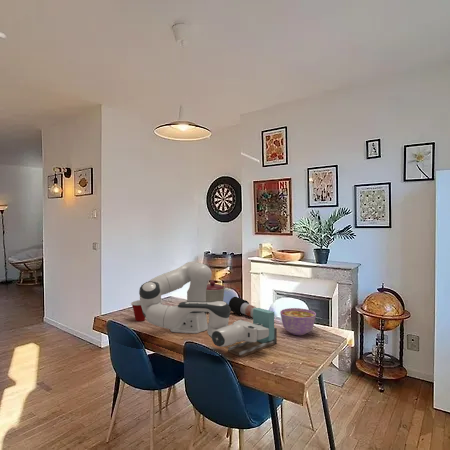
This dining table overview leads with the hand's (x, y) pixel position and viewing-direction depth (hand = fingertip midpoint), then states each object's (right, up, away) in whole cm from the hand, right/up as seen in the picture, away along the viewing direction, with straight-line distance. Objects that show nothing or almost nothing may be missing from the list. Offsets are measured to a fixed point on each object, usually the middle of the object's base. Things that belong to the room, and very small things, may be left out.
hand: (261, 325), depth 172 cm
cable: (-1, -10, +49) cm, 50 cm away
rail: (-4, -10, -4) cm, 12 cm away
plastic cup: (-73, -10, +42) cm, 85 cm away
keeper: (+1, -9, +2) cm, 9 cm away
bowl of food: (+23, -10, +18) cm, 31 cm away
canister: (-27, -9, +65) cm, 71 cm away
